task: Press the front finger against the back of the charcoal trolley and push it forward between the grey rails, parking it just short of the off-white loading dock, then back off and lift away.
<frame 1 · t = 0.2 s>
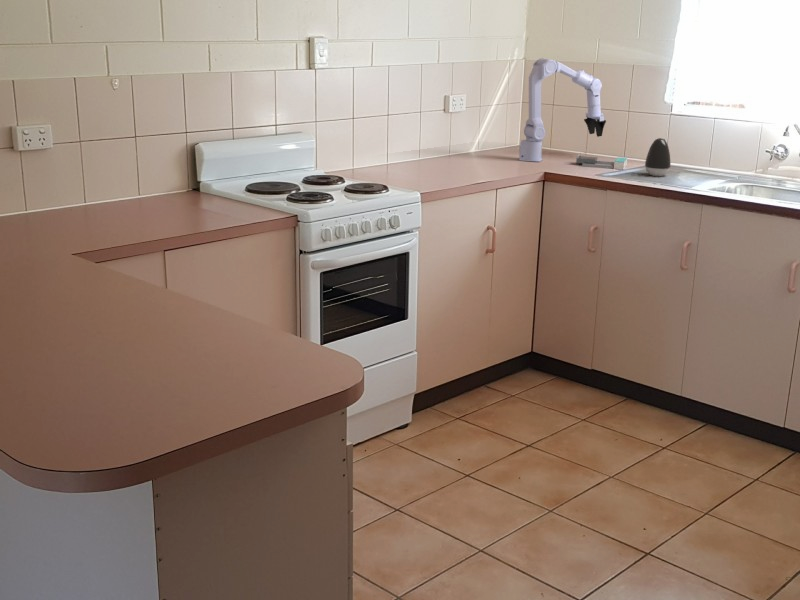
hand: (595, 135, 422), 11 cm above the countertop, tool pointing down, fingers open, 7 cm apart
dock: (600, 165, 405), on the countertop
trolley: (586, 164, 407), on the countertop
dark egg-shaped dome: (656, 175, 385), on the countertop
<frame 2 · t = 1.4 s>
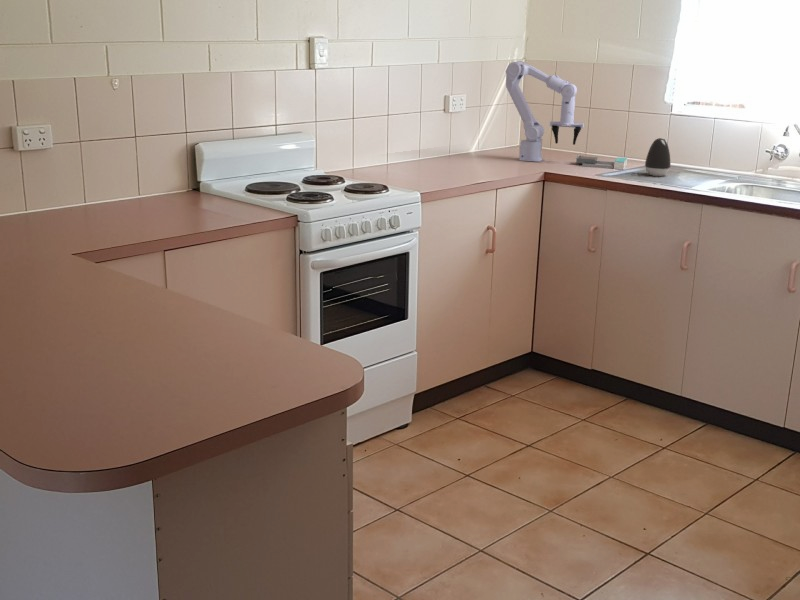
hand: (565, 143, 408), 8 cm above the countertop, tool pointing down, fingers open, 7 cm apart
nothing on the countertop moved.
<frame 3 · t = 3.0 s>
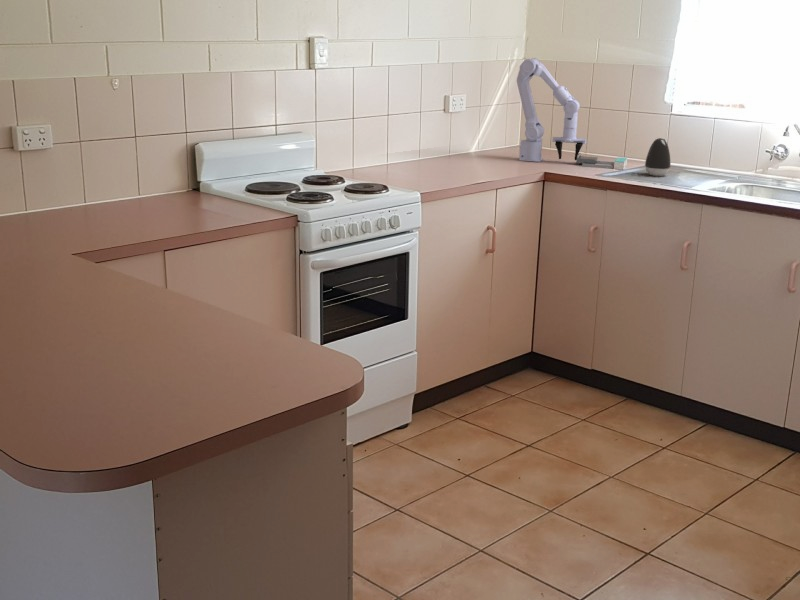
hand: (567, 159, 409), 2 cm above the countertop, tool pointing down, fingers open, 6 cm apart
trolley: (586, 164, 407), on the countertop, touching gripper
everything else where it was.
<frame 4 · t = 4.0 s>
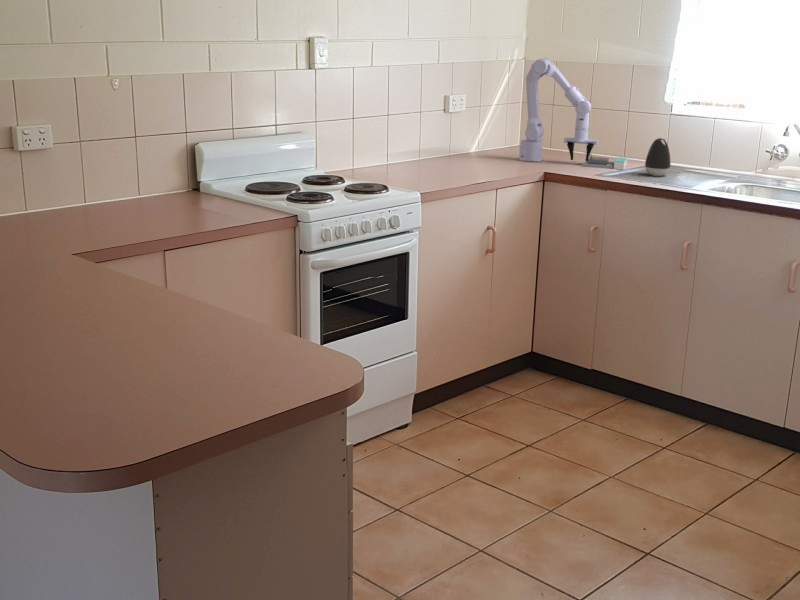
hand: (579, 160, 408), 2 cm above the countertop, tool pointing down, fingers open, 6 cm apart
trolley: (597, 165, 406), on the countertop, touching gripper
everything else where it was.
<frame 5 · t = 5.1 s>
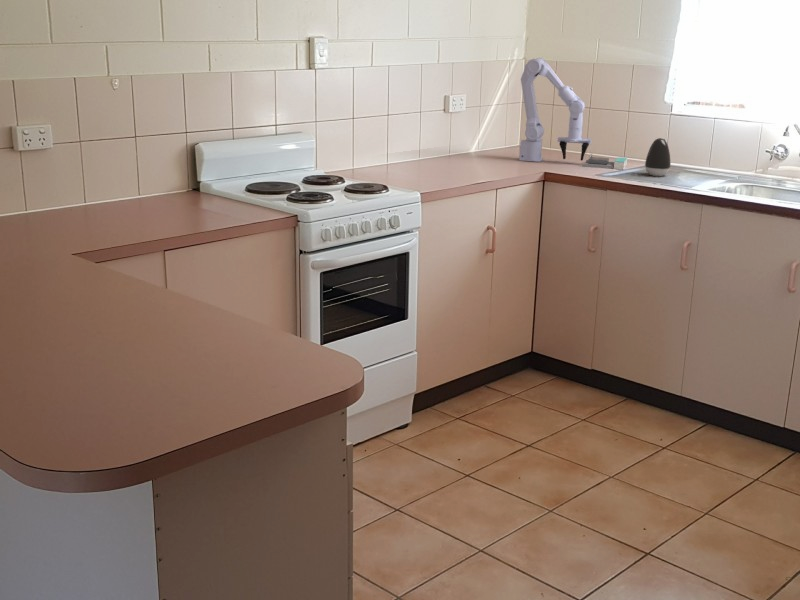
hand: (573, 159, 408), 2 cm above the countertop, tool pointing down, fingers open, 7 cm apart
trolley: (598, 165, 406), on the countertop
everything else where it was.
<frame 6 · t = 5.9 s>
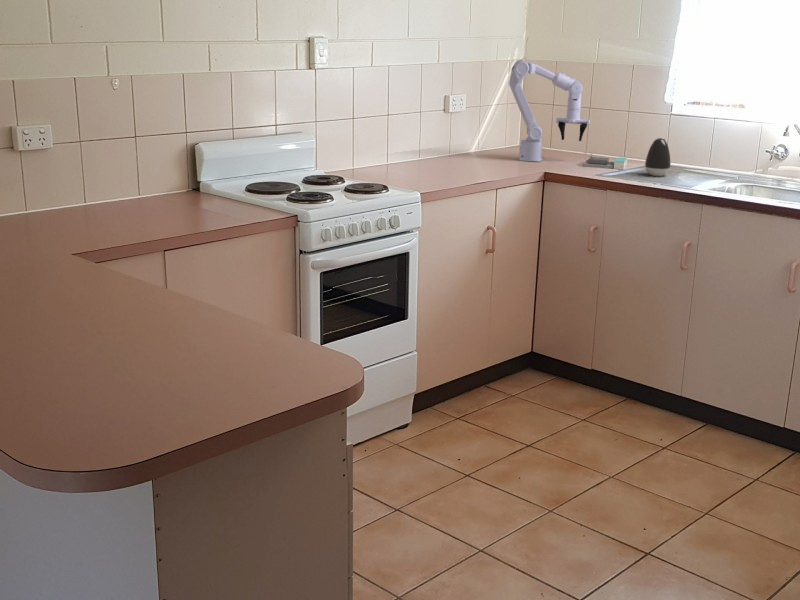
hand: (571, 140, 412), 9 cm above the countertop, tool pointing down, fingers open, 7 cm apart
nothing on the countertop moved.
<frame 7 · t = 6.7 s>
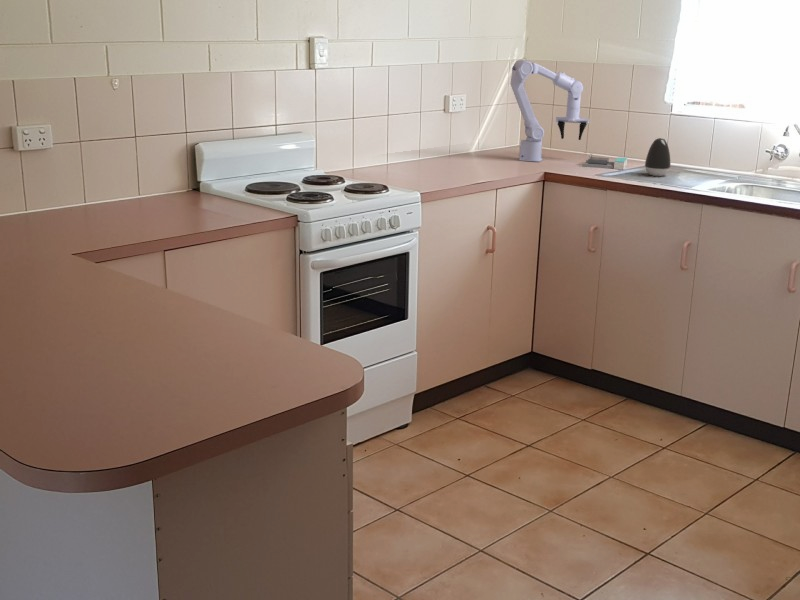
hand: (571, 139, 415), 9 cm above the countertop, tool pointing down, fingers open, 7 cm apart
nothing on the countertop moved.
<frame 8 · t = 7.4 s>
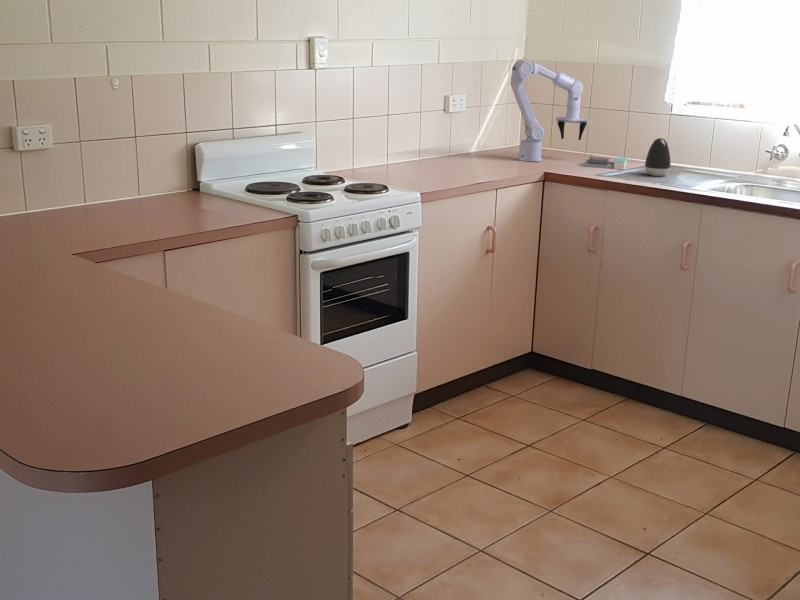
hand: (571, 139, 415), 9 cm above the countertop, tool pointing down, fingers open, 7 cm apart
nothing on the countertop moved.
at the end: trolley 0.5 cm off-centre on the dock, point 0.0 cm above the dock's base; trolley tilted 0°; trolley moved 5.0 cm from its start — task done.
